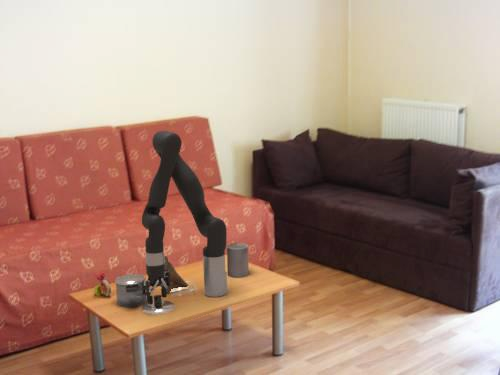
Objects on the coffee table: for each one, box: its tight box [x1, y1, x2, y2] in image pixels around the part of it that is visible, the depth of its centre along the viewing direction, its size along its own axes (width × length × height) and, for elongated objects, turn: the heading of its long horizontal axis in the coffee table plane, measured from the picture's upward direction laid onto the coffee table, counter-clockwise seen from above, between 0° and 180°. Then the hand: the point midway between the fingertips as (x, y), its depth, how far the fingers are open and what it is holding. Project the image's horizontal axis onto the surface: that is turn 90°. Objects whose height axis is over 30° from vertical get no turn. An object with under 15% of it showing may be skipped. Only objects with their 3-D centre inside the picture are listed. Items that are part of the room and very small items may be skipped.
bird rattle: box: [93, 270, 112, 298], centre depth 301 cm, size 6×11×9 cm
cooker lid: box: [141, 294, 175, 316], centre depth 286 cm, size 13×13×6 cm
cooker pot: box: [114, 273, 147, 308], centre depth 293 cm, size 18×13×10 cm
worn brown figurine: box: [164, 255, 189, 295], centre depth 304 cm, size 12×6×18 cm, turn 122°
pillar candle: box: [226, 242, 250, 279], centre depth 322 cm, size 10×10×15 cm
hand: (157, 300), depth 285 cm, fingers open, 8 cm apart
